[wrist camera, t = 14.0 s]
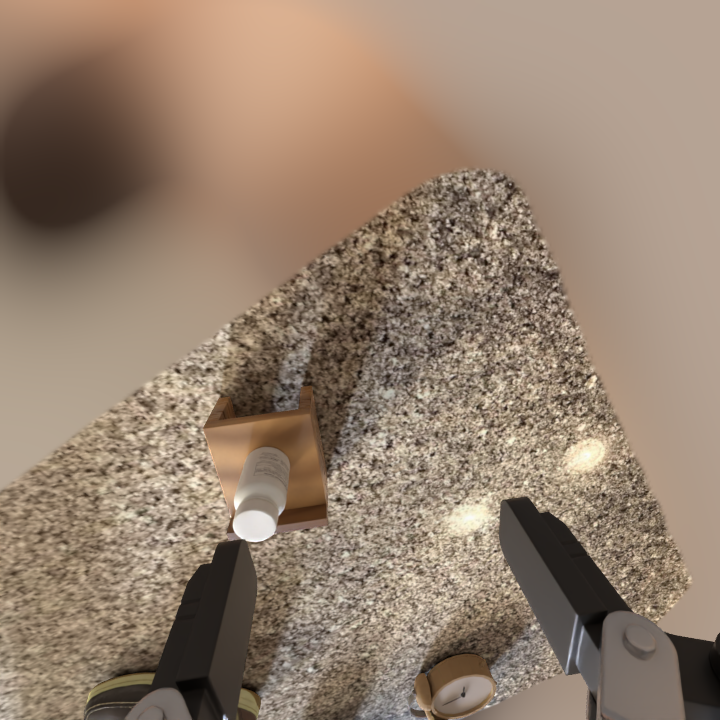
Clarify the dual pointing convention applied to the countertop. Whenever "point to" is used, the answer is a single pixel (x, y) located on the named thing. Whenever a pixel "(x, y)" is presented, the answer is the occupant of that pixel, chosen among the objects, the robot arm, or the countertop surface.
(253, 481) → the pill bottle
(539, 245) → the countertop surface
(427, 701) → the alarm clock
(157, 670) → the robot arm
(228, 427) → the shelf
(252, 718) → the boat shoe
